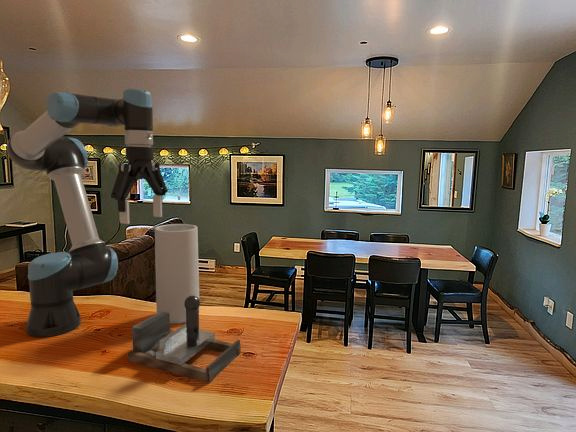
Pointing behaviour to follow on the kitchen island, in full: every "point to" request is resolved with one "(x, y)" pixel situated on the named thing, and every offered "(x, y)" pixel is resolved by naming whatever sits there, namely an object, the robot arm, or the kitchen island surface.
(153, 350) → the stone
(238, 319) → the kitchen island surface
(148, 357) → the grey rectangular frame
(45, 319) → the robot arm
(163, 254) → the vase
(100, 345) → the kitchen island surface
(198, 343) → the ram
